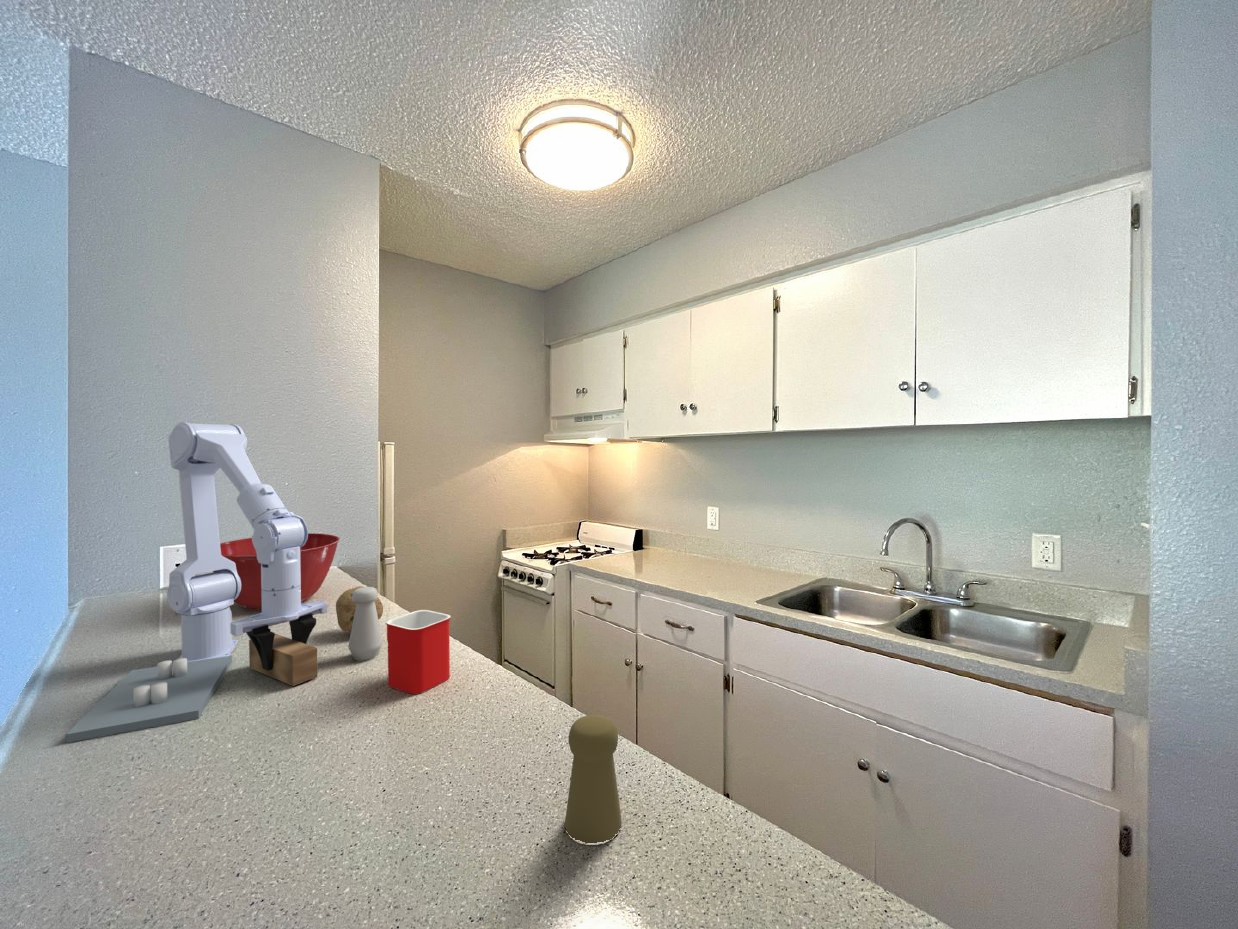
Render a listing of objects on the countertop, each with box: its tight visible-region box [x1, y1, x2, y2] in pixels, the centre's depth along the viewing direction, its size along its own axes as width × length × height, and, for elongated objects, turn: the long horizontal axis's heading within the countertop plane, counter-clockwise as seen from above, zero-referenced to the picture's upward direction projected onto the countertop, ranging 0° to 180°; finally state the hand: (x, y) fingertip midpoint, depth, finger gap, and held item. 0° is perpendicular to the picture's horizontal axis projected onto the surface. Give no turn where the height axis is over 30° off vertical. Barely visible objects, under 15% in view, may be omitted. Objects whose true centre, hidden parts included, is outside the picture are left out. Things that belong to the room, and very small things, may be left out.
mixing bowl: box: [212, 532, 341, 611], centre depth 131 cm, size 28×28×16 cm
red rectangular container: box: [385, 609, 452, 695], centre depth 88 cm, size 12×8×11 cm
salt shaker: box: [347, 586, 383, 662], centre depth 97 cm, size 6×6×13 cm
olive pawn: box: [564, 714, 623, 843], centre depth 54 cm, size 6×6×11 cm
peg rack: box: [65, 655, 233, 744], centre depth 81 cm, size 22×14×4 cm, turn 27°
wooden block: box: [248, 633, 318, 687], centre depth 89 cm, size 14×4×5 cm, turn 60°
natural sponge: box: [335, 586, 384, 635], centre depth 109 cm, size 9×9×10 cm
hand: (282, 664), depth 89 cm, fingers closed on wooden block, 4 cm apart
